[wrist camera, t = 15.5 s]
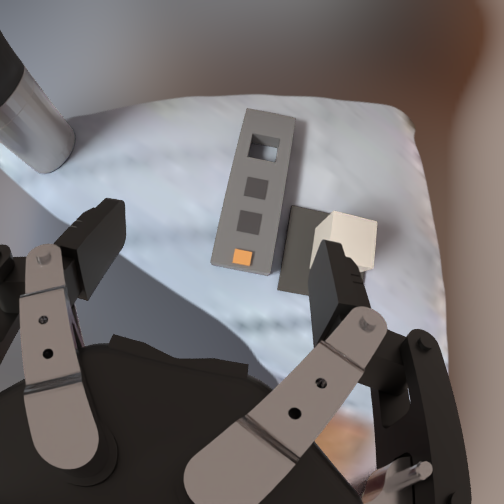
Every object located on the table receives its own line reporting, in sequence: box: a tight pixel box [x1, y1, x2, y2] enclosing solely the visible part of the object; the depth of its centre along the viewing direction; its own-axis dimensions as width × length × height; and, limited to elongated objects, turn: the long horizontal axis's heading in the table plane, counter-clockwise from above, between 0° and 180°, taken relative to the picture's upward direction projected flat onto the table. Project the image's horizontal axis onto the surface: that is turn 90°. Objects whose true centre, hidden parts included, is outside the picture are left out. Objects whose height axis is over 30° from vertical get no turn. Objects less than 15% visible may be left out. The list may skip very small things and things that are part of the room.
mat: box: [277, 205, 364, 296], centre depth 38 cm, size 11×11×1 cm
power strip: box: [211, 108, 296, 276], centre depth 38 cm, size 7×22×3 cm, turn 169°
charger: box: [310, 211, 377, 272], centre depth 33 cm, size 5×5×9 cm
